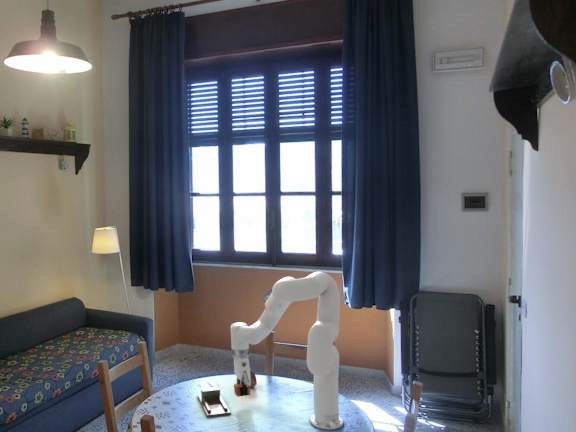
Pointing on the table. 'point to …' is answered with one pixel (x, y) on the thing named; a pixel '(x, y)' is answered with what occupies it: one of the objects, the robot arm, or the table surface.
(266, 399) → the table surface
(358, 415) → the table surface
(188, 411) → the table surface
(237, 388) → the block
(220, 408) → the cradle
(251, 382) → the tin
